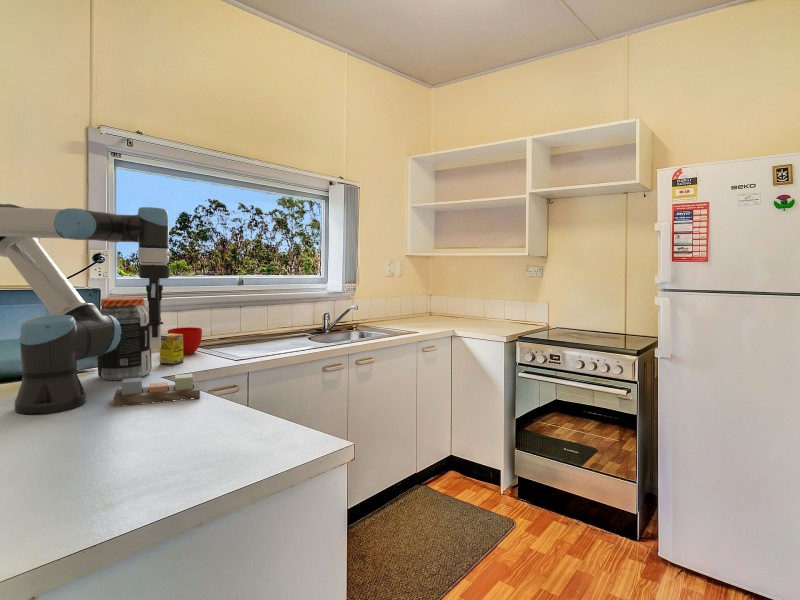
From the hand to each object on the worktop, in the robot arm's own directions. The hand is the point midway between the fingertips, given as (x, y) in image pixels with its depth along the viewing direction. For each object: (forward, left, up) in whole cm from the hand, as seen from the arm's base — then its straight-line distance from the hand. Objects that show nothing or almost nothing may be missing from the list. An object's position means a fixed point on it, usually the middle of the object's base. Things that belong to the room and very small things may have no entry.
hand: (155, 348), depth 136 cm
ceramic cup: (+50, +42, -14) cm, 67 cm away
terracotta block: (-1, -2, -14) cm, 14 cm away
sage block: (+4, -6, -12) cm, 14 cm away
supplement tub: (+14, +30, -14) cm, 36 cm away
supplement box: (+35, +31, -14) cm, 49 cm away
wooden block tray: (-1, -2, -14) cm, 14 cm away
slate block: (-6, +3, -12) cm, 13 cm away
